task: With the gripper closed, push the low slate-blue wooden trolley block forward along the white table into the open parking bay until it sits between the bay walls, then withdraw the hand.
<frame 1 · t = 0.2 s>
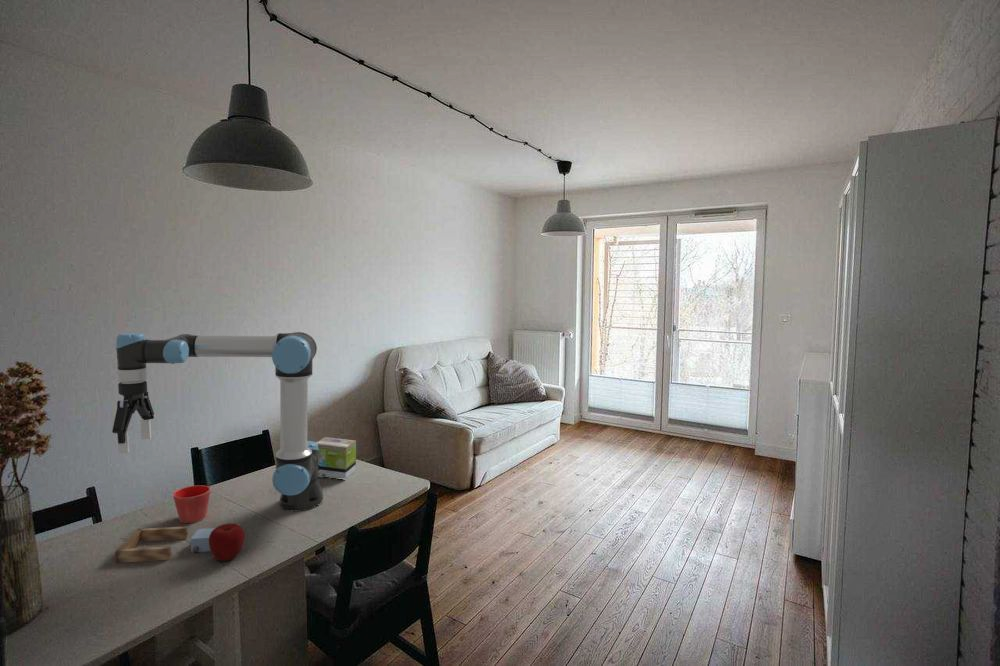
hand: (135, 445, 167), 28 cm above the table, fingers open, 13 cm apart
bay: (156, 549, 157), on the table
tea box: (334, 475, 219), on the table
flower pot: (193, 518, 177), on the table
trolley block: (209, 546, 160), on the table
apple: (227, 558, 154), on the table
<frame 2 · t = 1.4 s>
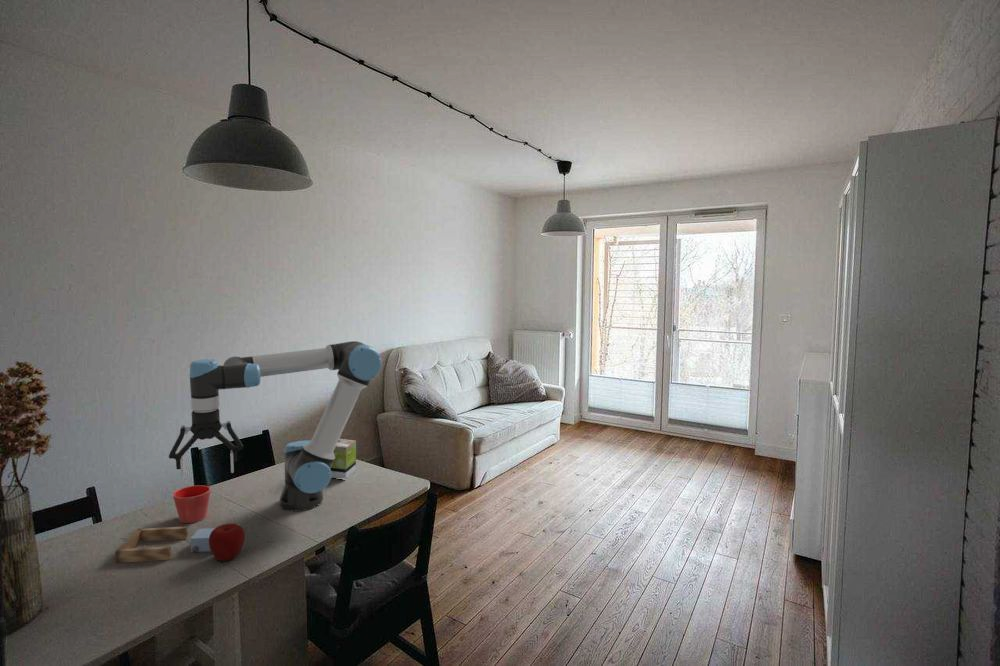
hand: (208, 475, 162), 21 cm above the table, fingers open, 13 cm apart
nothing on the table moved.
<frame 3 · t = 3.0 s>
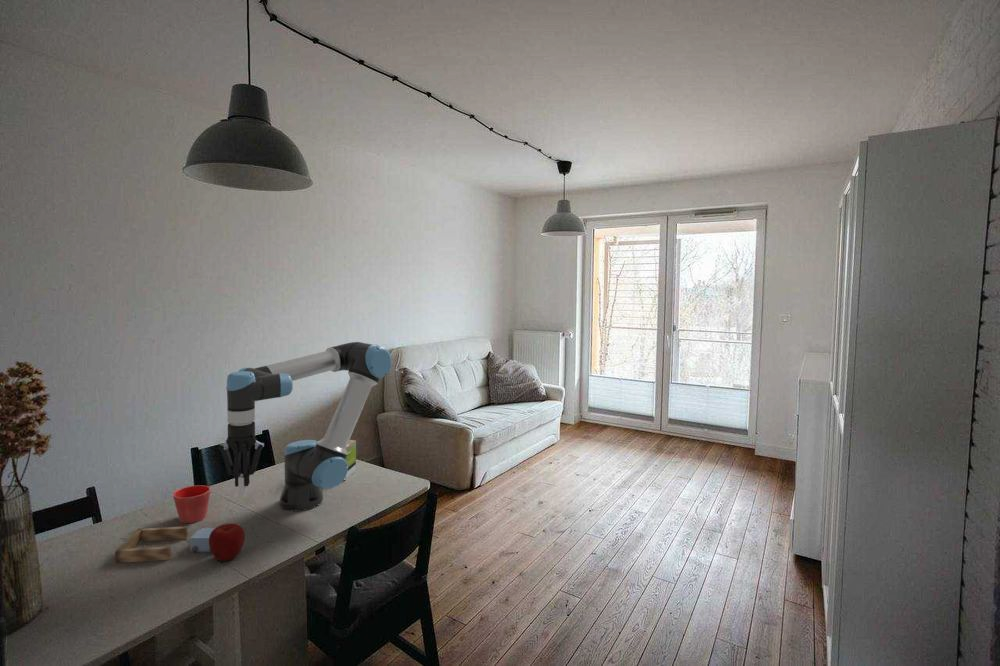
hand: (242, 495, 160), 16 cm above the table, fingers closed
nothing on the table moved.
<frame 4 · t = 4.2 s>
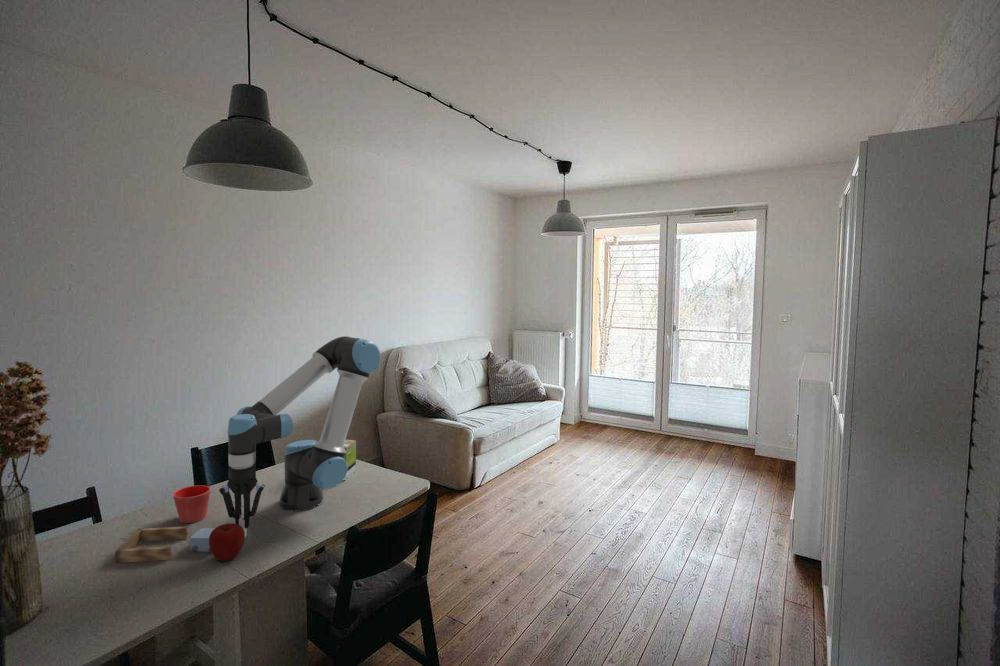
hand: (242, 537, 161), 2 cm above the table, fingers closed
nothing on the table moved.
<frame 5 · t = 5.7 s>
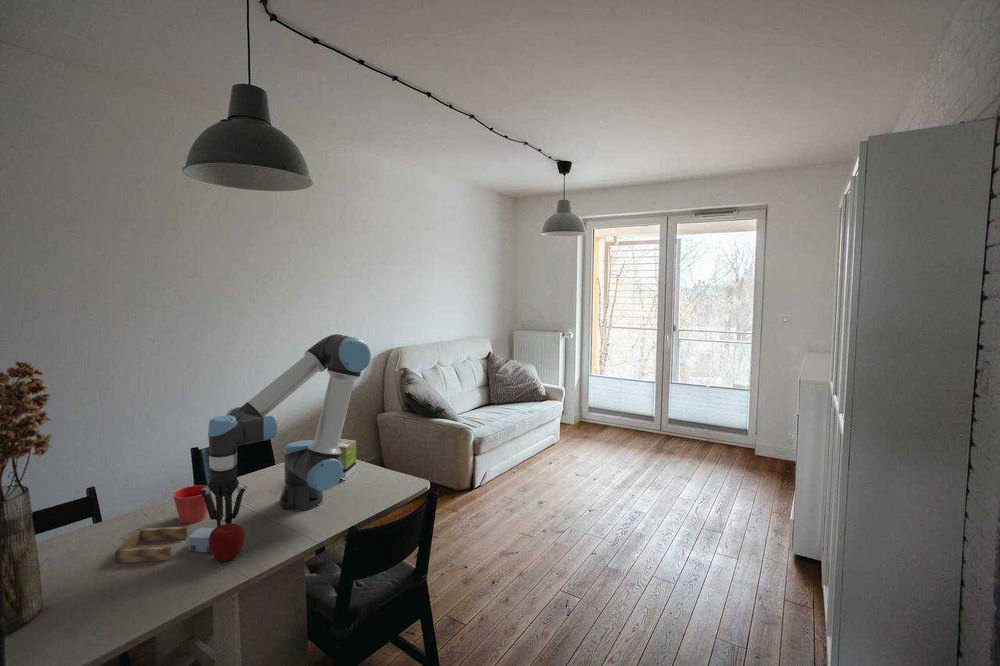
hand: (224, 539, 160), 2 cm above the table, fingers closed
trolley block: (207, 546, 160), on the table, touching gripper
everything else where it was.
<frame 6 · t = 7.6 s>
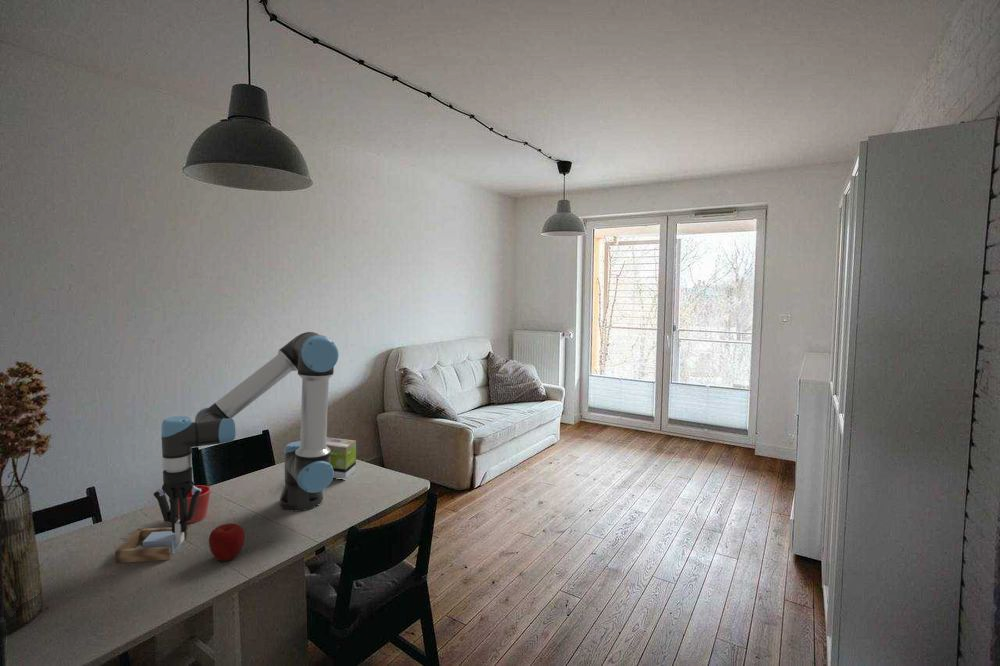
hand: (179, 541, 158), 2 cm above the table, fingers closed
trolley block: (162, 550, 157), on the table, touching gripper
everything else where it was.
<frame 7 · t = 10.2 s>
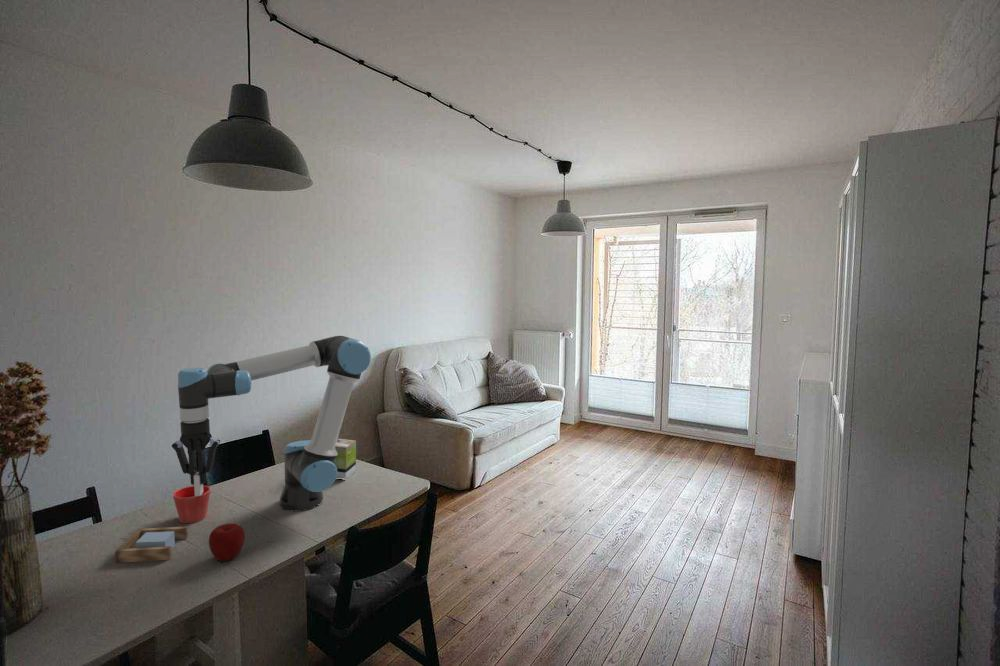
hand: (199, 493, 158), 17 cm above the table, fingers closed
trolley block: (156, 550, 156), on the table
everything else where it was.
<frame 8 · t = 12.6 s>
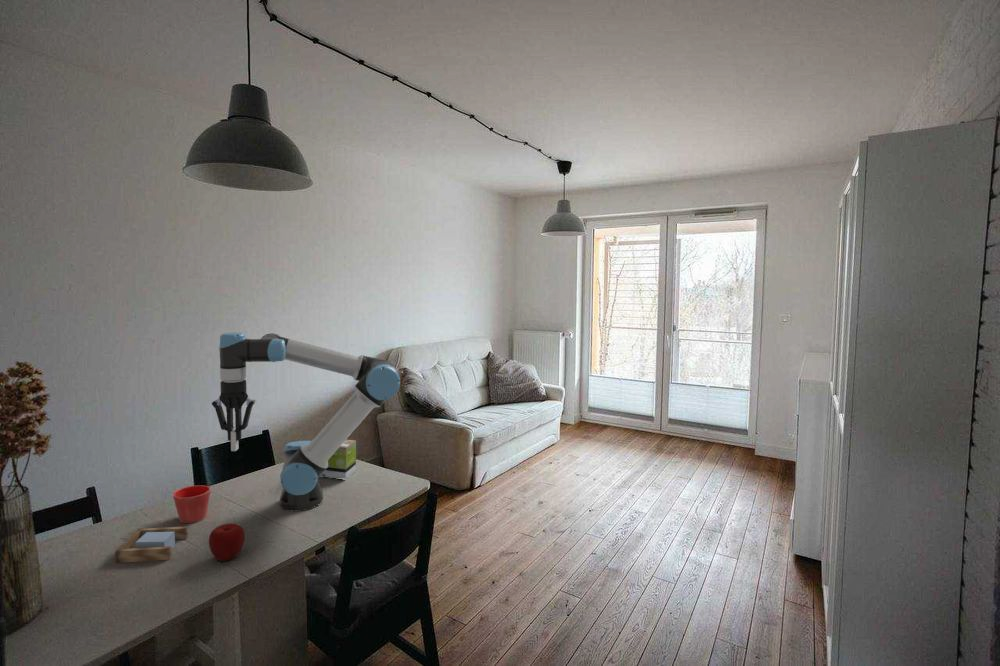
hand: (234, 449, 170), 26 cm above the table, fingers closed
nothing on the table moved.
at the end: trolley block inside the target area on the bay (1.1 cm from its centre), point 0.0 cm above the bay's base; trolley block tilted 0° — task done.
